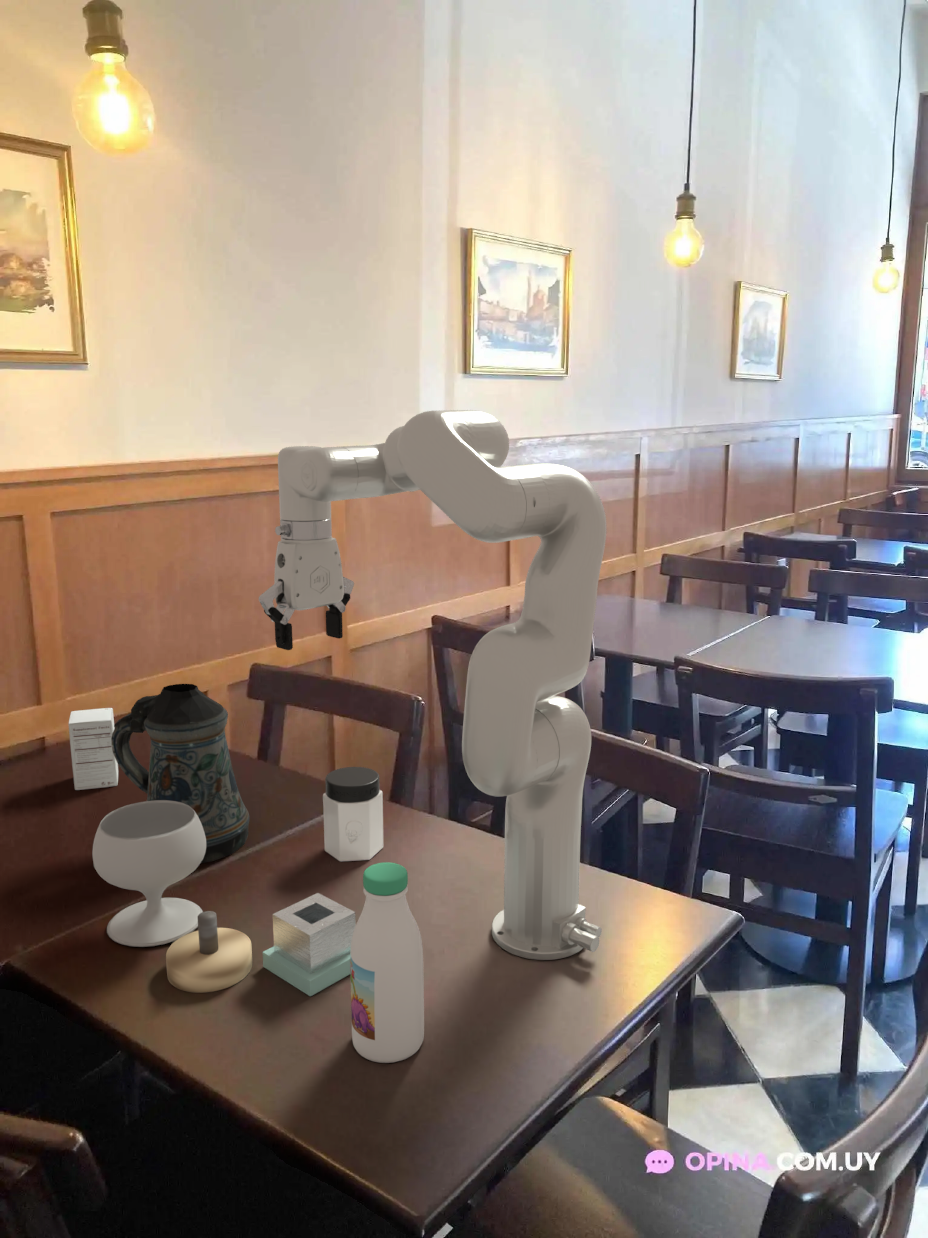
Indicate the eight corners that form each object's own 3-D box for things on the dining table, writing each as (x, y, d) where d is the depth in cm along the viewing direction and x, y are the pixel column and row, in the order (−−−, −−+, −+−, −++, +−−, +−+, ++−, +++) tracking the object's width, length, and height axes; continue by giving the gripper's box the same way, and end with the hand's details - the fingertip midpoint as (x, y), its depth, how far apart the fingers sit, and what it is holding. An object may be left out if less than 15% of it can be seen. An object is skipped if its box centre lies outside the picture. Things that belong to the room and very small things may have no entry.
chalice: (83, 920, 128) (73, 815, 125) (183, 887, 137) (176, 788, 134) (123, 966, 118) (114, 853, 114) (229, 927, 127) (223, 821, 123)
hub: (269, 966, 118) (266, 914, 116) (197, 1003, 111) (193, 948, 109) (221, 936, 124) (218, 886, 123) (151, 969, 117) (147, 917, 116)
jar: (324, 863, 144) (322, 788, 141) (324, 839, 152) (322, 767, 149) (384, 860, 145) (383, 785, 143) (382, 836, 153) (380, 765, 150)
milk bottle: (424, 1018, 108) (423, 853, 104) (423, 1064, 101) (422, 888, 96) (355, 1019, 108) (350, 854, 103) (349, 1066, 100) (344, 889, 96)
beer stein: (258, 855, 147) (251, 697, 141) (123, 877, 140) (109, 712, 134) (241, 813, 162) (233, 668, 156) (118, 831, 155) (105, 681, 149)
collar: (356, 949, 118) (355, 912, 117) (311, 973, 113) (309, 935, 112) (319, 928, 123) (317, 892, 121) (274, 951, 117) (272, 914, 116)
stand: (368, 963, 118) (367, 937, 118) (310, 996, 112) (309, 969, 111) (320, 937, 124) (319, 912, 124) (263, 966, 118) (261, 940, 117)
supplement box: (76, 776, 178) (70, 710, 175) (119, 771, 180) (114, 706, 177) (73, 791, 171) (67, 723, 168) (118, 786, 173) (112, 719, 170)
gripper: (274, 539, 135) (279, 657, 139) (366, 527, 148) (368, 636, 151) (242, 534, 140) (248, 649, 144) (334, 523, 153) (337, 629, 156)
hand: (310, 642), depth 148 cm, fingers open, 9 cm apart
